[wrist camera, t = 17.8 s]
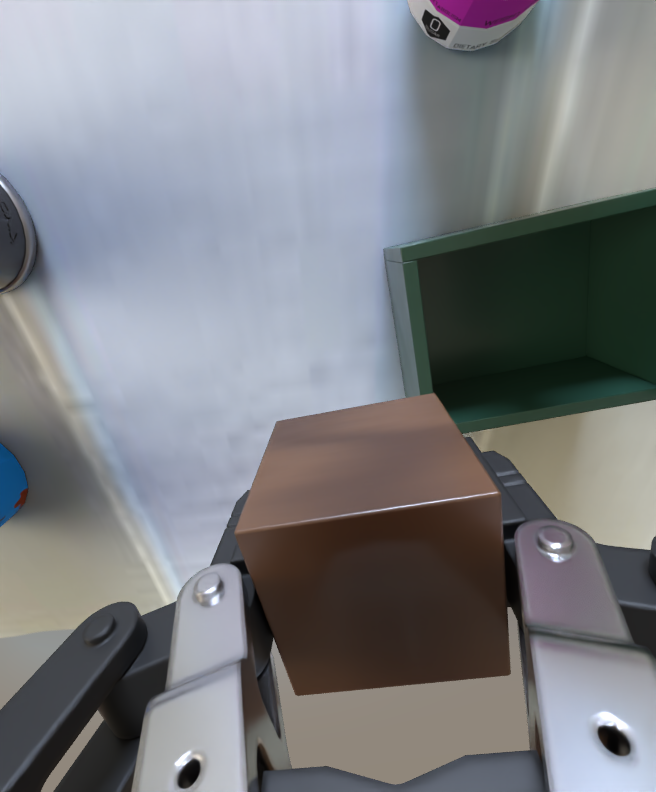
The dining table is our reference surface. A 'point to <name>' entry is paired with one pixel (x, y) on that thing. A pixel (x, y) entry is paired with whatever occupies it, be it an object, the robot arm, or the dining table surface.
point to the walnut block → (378, 549)
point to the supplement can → (469, 20)
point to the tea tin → (531, 313)
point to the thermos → (11, 485)
